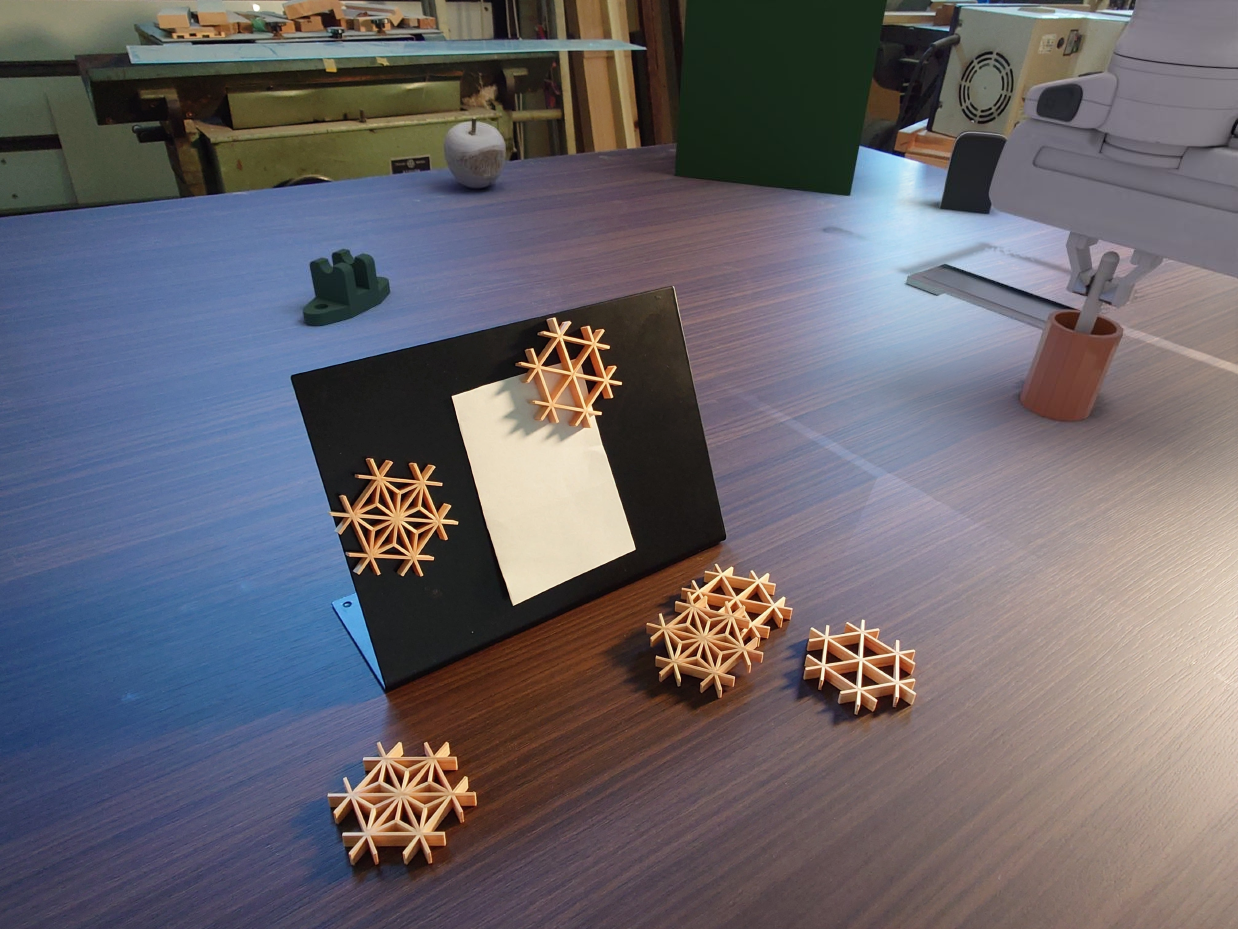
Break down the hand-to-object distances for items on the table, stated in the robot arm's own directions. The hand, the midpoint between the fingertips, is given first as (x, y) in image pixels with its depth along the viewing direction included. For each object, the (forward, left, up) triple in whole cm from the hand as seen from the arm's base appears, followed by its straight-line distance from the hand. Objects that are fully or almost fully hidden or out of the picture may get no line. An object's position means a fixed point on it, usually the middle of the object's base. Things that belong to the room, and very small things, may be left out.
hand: (1095, 297), depth 63 cm
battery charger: (+36, -42, -10) cm, 56 cm away
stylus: (0, 0, -10) cm, 10 cm away
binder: (+67, -35, -10) cm, 76 cm away
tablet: (+16, -22, -10) cm, 29 cm away
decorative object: (+84, +8, -10) cm, 85 cm away
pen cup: (0, 0, -10) cm, 10 cm away
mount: (+53, +40, -10) cm, 67 cm away
